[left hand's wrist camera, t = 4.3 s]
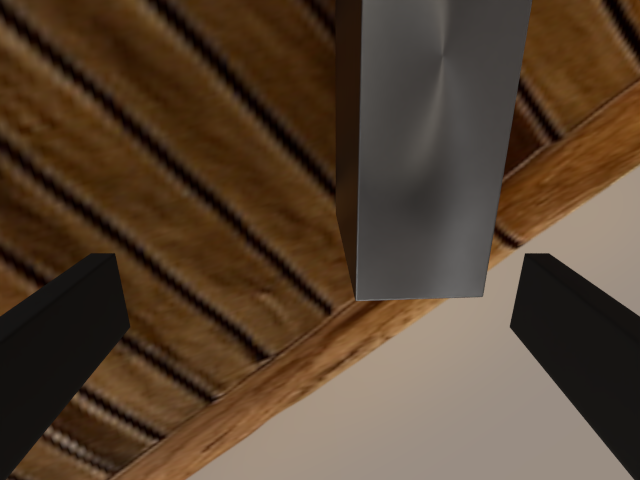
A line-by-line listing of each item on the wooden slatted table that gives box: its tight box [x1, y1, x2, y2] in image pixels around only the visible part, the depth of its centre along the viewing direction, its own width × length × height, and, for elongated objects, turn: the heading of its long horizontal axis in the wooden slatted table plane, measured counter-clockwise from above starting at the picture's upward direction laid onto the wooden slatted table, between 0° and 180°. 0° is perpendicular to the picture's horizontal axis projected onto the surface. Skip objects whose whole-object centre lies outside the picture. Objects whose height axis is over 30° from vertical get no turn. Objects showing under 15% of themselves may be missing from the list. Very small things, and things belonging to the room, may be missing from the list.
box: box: [336, 0, 532, 301], centre depth 20 cm, size 20×6×13 cm, turn 1°
